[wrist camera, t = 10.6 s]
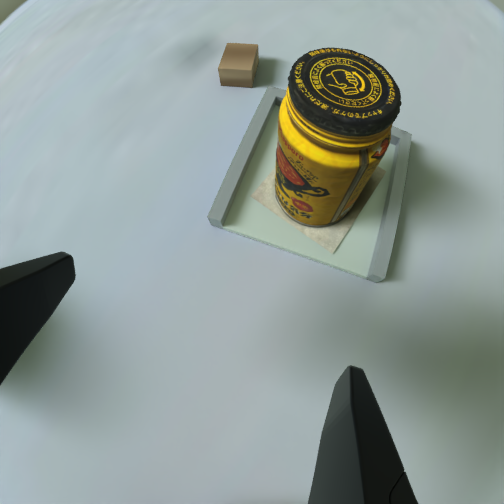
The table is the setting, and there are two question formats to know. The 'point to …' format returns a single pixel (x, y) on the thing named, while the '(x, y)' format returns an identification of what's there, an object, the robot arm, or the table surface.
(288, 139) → the condiment
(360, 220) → the holder
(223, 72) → the tan block
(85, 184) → the table surface
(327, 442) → the robot arm
